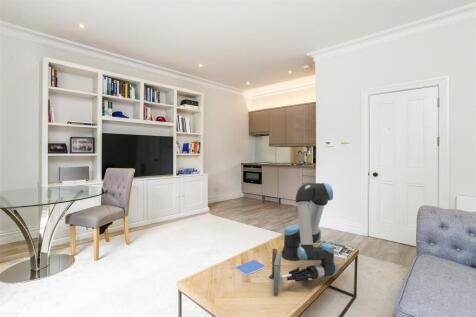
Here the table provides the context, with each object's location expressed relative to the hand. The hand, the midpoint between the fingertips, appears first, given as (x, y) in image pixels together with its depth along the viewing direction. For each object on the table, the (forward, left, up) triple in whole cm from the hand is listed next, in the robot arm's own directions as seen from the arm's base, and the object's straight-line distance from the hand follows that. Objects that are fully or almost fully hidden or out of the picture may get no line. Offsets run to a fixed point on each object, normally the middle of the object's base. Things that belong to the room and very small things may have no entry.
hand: (281, 278), depth 137 cm
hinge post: (-10, +11, -7) cm, 16 cm away
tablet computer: (-29, +13, -8) cm, 33 cm away
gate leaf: (-4, +3, -6) cm, 7 cm away
